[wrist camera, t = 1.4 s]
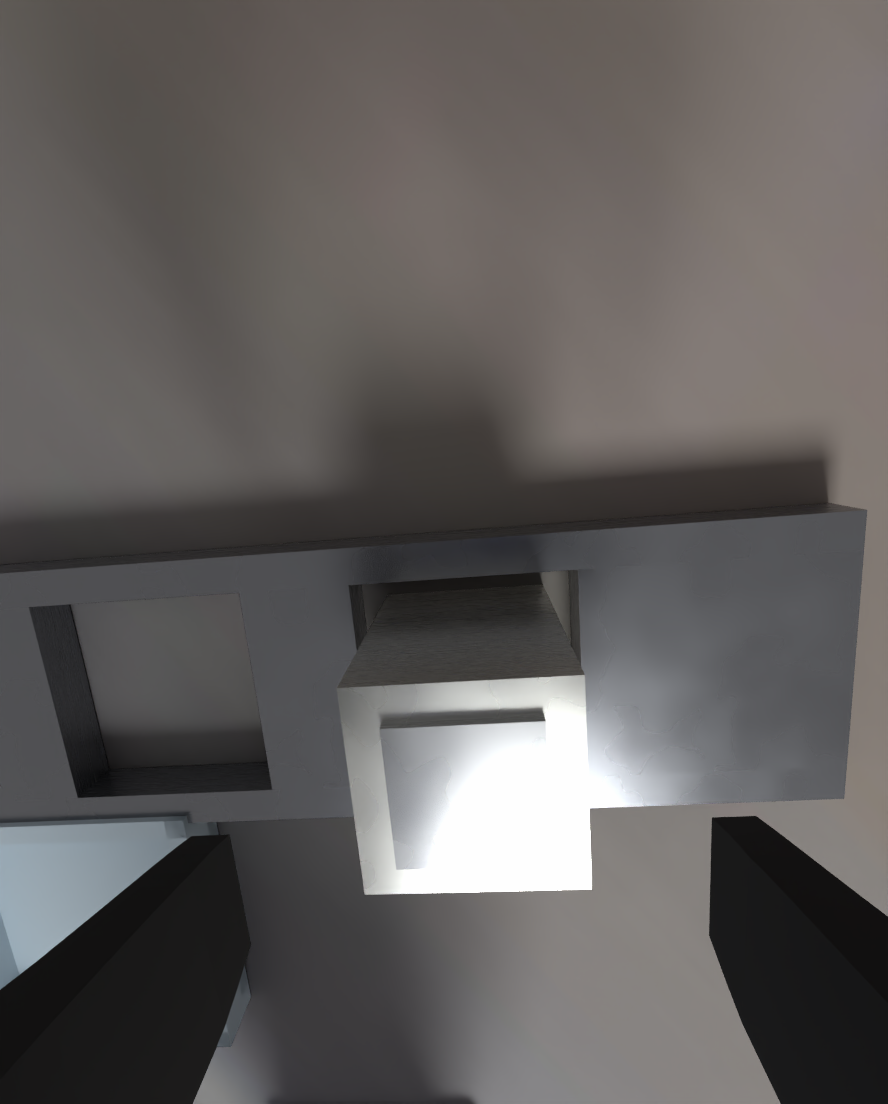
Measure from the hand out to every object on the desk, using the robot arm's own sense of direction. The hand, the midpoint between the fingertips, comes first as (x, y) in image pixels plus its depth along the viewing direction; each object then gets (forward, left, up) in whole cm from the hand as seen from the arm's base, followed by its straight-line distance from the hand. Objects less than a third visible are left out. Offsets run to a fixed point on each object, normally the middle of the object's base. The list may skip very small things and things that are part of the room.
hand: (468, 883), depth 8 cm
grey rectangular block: (0, 0, -8) cm, 8 cm away
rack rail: (0, +3, -8) cm, 9 cm away
